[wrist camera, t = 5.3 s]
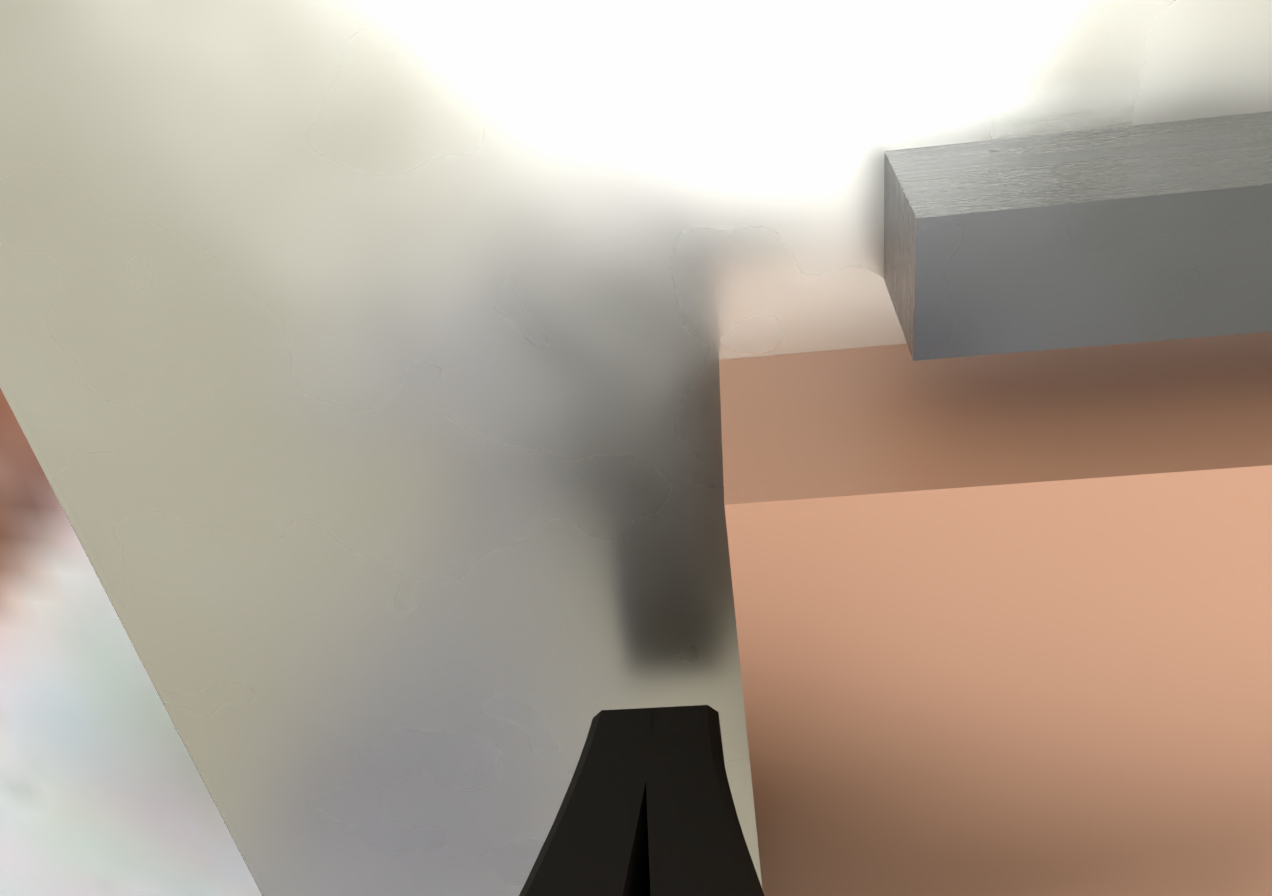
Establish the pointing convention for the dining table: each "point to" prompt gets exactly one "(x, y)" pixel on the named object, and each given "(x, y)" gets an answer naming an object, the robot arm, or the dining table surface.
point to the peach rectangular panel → (1006, 617)
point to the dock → (539, 340)
